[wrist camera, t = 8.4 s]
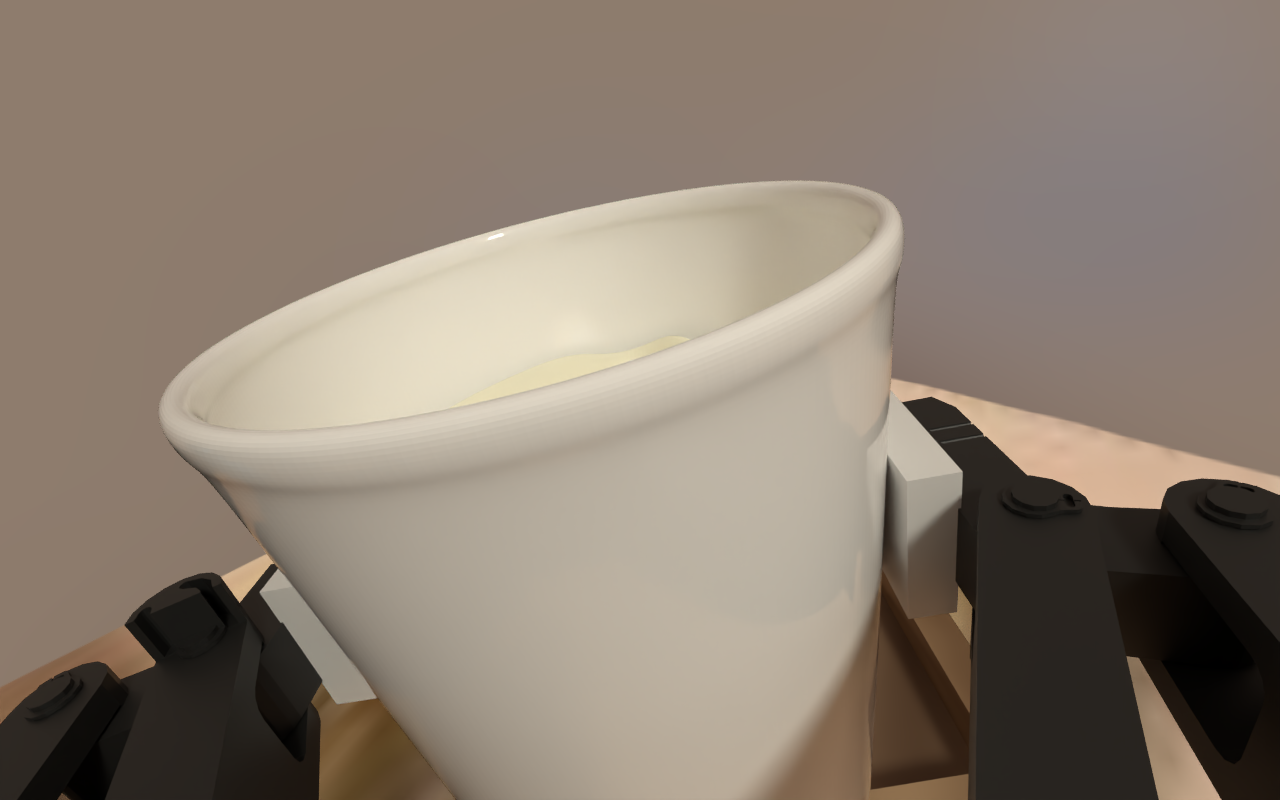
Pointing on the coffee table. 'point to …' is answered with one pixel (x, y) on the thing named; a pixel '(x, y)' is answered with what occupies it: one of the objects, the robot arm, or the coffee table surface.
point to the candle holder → (589, 489)
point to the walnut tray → (920, 706)
